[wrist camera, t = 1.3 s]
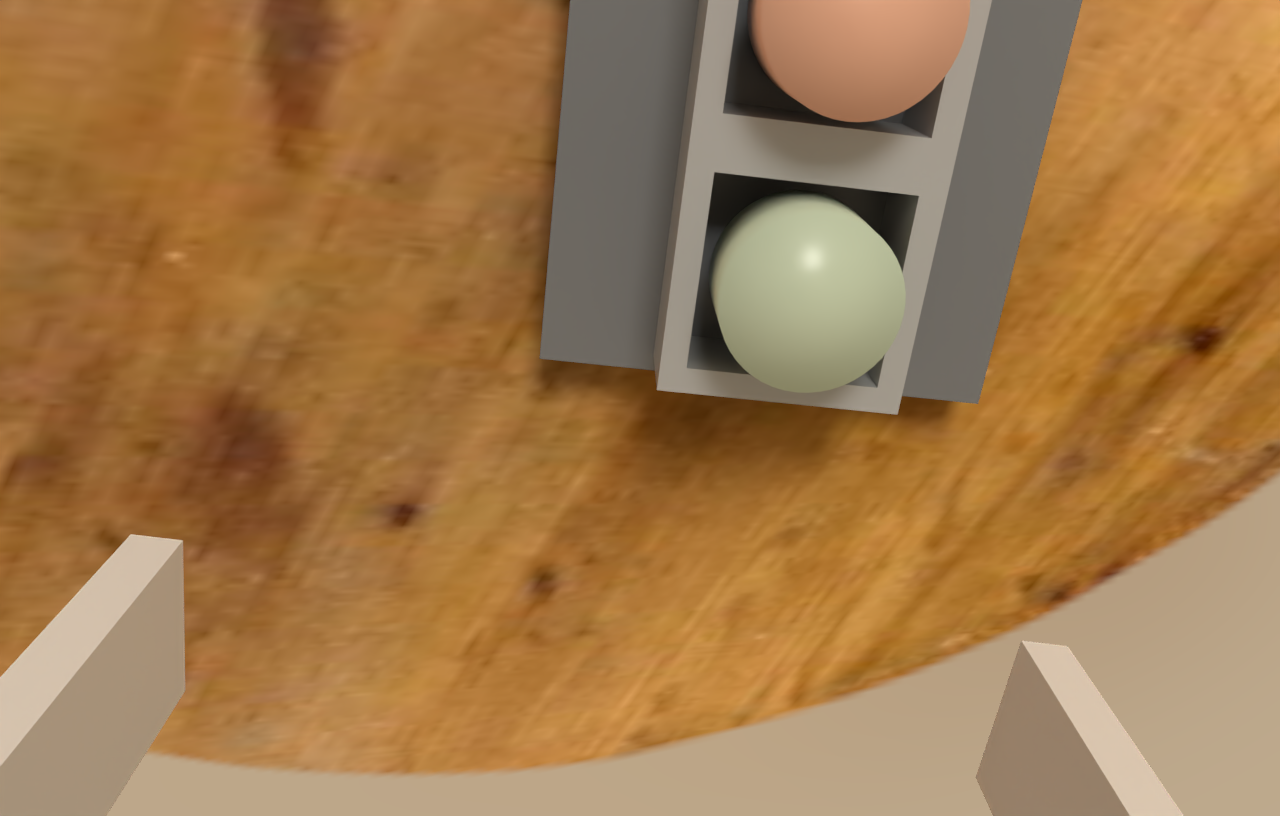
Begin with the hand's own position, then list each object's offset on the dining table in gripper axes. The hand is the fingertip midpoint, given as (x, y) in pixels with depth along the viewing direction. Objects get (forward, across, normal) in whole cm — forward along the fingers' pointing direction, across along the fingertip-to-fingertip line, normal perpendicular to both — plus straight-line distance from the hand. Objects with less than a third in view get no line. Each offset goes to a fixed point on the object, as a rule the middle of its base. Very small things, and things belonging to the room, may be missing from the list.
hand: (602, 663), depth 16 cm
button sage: (+15, +5, +3) cm, 16 cm away
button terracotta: (+15, +4, +10) cm, 19 cm away
